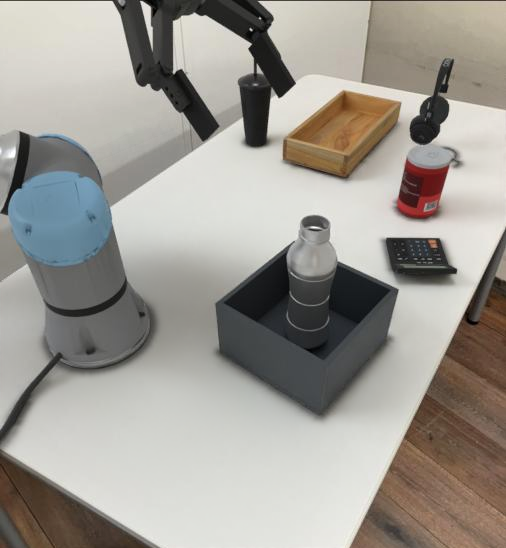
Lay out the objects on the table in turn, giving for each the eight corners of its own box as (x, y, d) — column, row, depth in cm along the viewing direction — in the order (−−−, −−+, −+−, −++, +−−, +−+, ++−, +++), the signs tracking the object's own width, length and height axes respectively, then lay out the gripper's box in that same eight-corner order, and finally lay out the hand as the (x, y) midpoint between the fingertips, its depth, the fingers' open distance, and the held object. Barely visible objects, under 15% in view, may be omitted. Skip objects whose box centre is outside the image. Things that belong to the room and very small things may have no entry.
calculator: (438, 241, 92) (442, 227, 90) (452, 284, 84) (458, 270, 82) (385, 241, 92) (388, 227, 90) (395, 284, 84) (398, 269, 82)
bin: (319, 415, 67) (325, 367, 60) (219, 352, 75) (214, 303, 67) (386, 338, 76) (399, 289, 69) (291, 289, 84) (294, 240, 77)
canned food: (440, 201, 101) (455, 148, 92) (432, 223, 96) (447, 169, 88) (401, 193, 103) (413, 140, 95) (391, 214, 98) (403, 160, 90)
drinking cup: (269, 151, 116) (270, 55, 101) (236, 148, 117) (232, 53, 102) (275, 135, 121) (276, 42, 106) (243, 133, 122) (240, 40, 107)
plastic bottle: (304, 362, 72) (314, 247, 57) (274, 334, 76) (276, 220, 61) (337, 341, 75) (355, 226, 60) (307, 315, 78) (316, 201, 64)
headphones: (451, 182, 105) (481, 80, 91) (397, 171, 109) (418, 71, 94) (464, 150, 115) (494, 53, 100) (414, 140, 118) (436, 45, 103)
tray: (340, 111, 130) (343, 87, 125) (397, 124, 124) (402, 100, 120) (281, 163, 112) (282, 138, 108) (345, 181, 106) (348, 155, 102)
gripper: (198, -65, 62) (295, 93, 66) (21, -21, 48) (157, 172, 53) (230, -121, 55) (334, 57, 60) (37, -88, 42) (189, 137, 47)
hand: (252, 111), depth 56 cm, fingers open, 13 cm apart
